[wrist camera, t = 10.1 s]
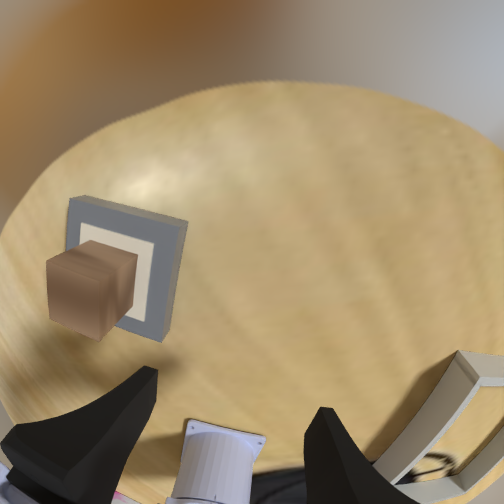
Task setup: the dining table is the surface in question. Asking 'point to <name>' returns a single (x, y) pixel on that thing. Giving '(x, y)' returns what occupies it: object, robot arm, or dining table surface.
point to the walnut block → (91, 287)
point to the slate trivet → (139, 242)
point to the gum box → (122, 499)
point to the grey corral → (438, 422)
